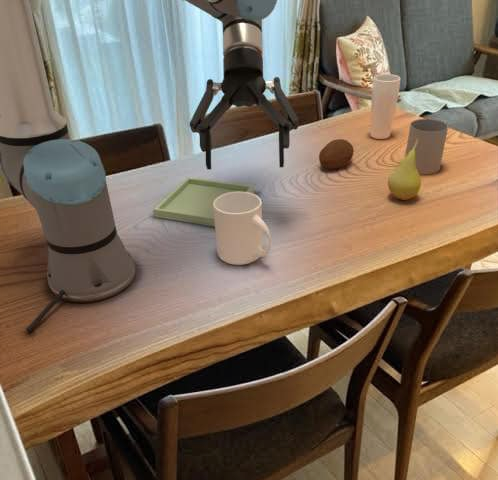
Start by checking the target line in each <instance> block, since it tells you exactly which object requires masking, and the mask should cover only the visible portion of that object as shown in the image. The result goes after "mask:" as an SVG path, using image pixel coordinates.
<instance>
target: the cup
mask: <svg viewBox="0 0 498 480" xmlns="http://www.w3.org/2000/svg"><path fill="white" fill-rule="evenodd" d="M448 130H449V125H448V124H447V123H446V122H445V121H442V120H438V119H432V118H420V119H415V120H413V121H411V122H410V124H409V130H408V135H407V136H408V137H407V142H406V148H405V149H406V150H405V154H404V155H405V156H404V158H405V157H406V156H407V155H408V153H409V152H410V151H411V150H412V149H413V147H414V145H415V142H416V138H418V143H417V145H416V147H415V150H414V151H415V165H416V169H417V171H418V173H419V175H432V174H436V173H438V172H439V171H440V169H441V165H442V161H443V160H442V159H443V155H444V151H445V145H446V139H447V135H448Z"/></svg>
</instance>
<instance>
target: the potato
mask: <svg viewBox="0 0 498 480" xmlns="http://www.w3.org/2000/svg"><path fill="white" fill-rule="evenodd" d="M354 152H355V150H354V146H353V144H352V143H351V142H349V140H347V139H343V138H339V139H332V140H331V141H330V142H328V143H326V144H325V146H324V147H323V148H322V149H321V150H320V152H319V154H318V160H319V164H320V166H321V167H323V168H324V169H328V170H329V169H330V170H333V169H338V168H340V167H344V166H347V165H349V163H350V162H351V161H352V158H353V157H354Z"/></svg>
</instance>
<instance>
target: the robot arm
mask: <svg viewBox="0 0 498 480" xmlns="http://www.w3.org/2000/svg"><path fill="white" fill-rule="evenodd" d="M182 1H185V2H187V3H189V4H190V5H192V6H194V7H196V8H197V9H199V10H201V11H203V12H205V13H206V14H208V15H210V16H211V17H212V18H214V19H216V20H218V21H219V22H221V24H222V26H221V27H222V55H223V58H222V59H223V60H222V61H223V62H222V66H223V69H222V71H223V79H222V81H221V82H217V81H215V82H214V80H213V79H211V78H209V79H207V80H206V85H205V91H204V93H203V95H202V97H201V99H200V102H199V103H198V105H197V107H196V110H195V112H194V113H193V115H192V117H191V119H190V122H189V127H190V131H191V132H192V133H193V134H194V133H197V134H199V148H200V151H201V152H205V167H206V170H212V134H211V130H212V129H213V128H214V126H215V125H216V124H217V122H219V120H220V119H221V118H222V117H223V115H224V114H225V113H226V112H227V111H229V110H230V108H231V107H232V106H235V107H236V108H241V107H248V108H249V107H251V108H252V107H253V106H254V105H256V106H257V107H258V108H259V110H262V111H263V112H264V113H265V114H266V116H267V117H268V119H270V120H271V121H272V122H273V123H274V124H275V125H276V126H277V127H278V159H279V161H278V162H279V164H278V165H279V168H284V167H285V149H286V150H287V149H289V148H290V140H291V138H290V132H291V131H293V130H294V131H295V130H298V128H299V122H300V120H299V119H300V118H299V117H298V116H297V114H296V112H295V110H294V109H293V107H292V105H291V103H290V101H289V100H288V97H287V96H286V94H285V92H284V91H283V89H282V84H281V79H280V77H278V76H275V77H273V80H265V79H264V78H265V77H264V57H263V54H264V53H263V52H264V51H263V49H264V47H263V44H264V43H263V20H264V19H267V18H268V17H269V16H270V15H271V14H272V13H273V11H274V10H275V8H276V5H277V1H278V0H182ZM266 90H269V92H270V93H271V94H273V95H274V98H275V100H276V101H277V104H278V105H279V107H280V109H281V111H282V112H283V115H282V113H280V112H279V110H278V109H277V108H276V107H275V106H274V105H273V104H272V103H271V102H270V101H269V100H268V98H267V96H266V95H265V94H264V93H265V92H266ZM220 91H221V92H222V93H223V95H222V97H221V98H220V100H219V102H218V103H217V104H216V105H215V106H214V107H213V109H212V110H211V111H210V112H209V113H208V115H207V116H206V114H207V112H208V110H209V109H210V106H211V105H212V102H213V100H214V96H215V97H216V96H217V95H218V94H219V92H220ZM205 116H206V117H205ZM284 116H285V117H284ZM67 124H68V123H67V120H66V118H65V117H64V116H62V115H61V114H59V113H58V112H57V111H56V110H55V107H54V104H53V99H52V95H51V90H50V86H49V82H48V78H47V71H46V68H45V64H44V59H43V55H42V51H41V46H40V43H39V38H38V33H37V28H36V24H35V21H34V16H33V11H32V7H31V3H30V0H0V169H1V170H0V171H1V172H2V174H3V175H4V178H5V179H6V180H7V182H8V183H9V184H10V185H11V186H12V187H13V188H14V189H15V190H16V191H18V192H19V194H21V196H22V197H23V198H24V199H25V200H26V201H27V202H28V203H29V204H30V205H31V207H33V208H34V209H35V212H36V213H37V216H38V218H39V221H40V222H39V223H40V224H41V228H42V231H43V234H44V237H45V241H46V243H47V247H48V253H47V254H48V255H47V271H46V277H47V284H48V286H49V289H50V291H51V293H52V294H53V295H54V298H53V299H52V300H51V301H49V303H48V304H47V305H46V306H45V307H44V308H43V310H42V311H40V313H39V314H38V315H37V316H36V317H35V319H34V320H33V321H32V322H31V323H30V324H29V325H28V326H26V328H25V330H26V331H27V332H28V333H30V332H32V331H33V330H34V328H35V327H36V326H37V325H38V324H39V323H40V322H41V321H42V319H44V317H45V316H46V315H47V314H48V313H49V312H50V310H51V309H52V308H53V307H54V306H55V305H56V304H57V303H58V302H59V301H60V300H63V301H65V302H71V303H93V302H98V301H102V300H105V299H108V298H111V297H113V296H116V295H118V294H120V293H121V292H122V291H124V290H125V289H127V288H128V287H129V286H130V285H131V284H132V283H133V281H134V279H135V276H136V273H137V272H136V266H135V261H134V259H133V257H132V255H131V254H130V252H129V251H128V250H127V249H126V247H125V245H124V243H123V241H122V239H121V238H120V235H119V234H118V232H117V231H118V230H117V227H116V222H115V221H116V220H115V217H114V212H113V208H112V202H111V199H110V198H111V197H110V193H109V188H108V184H107V176H106V170H105V168H104V165H103V163H102V159H101V157H100V155H99V153H98V151H97V150H96V149H95V148H94V147H93V146H91V145H89V144H87V143H86V142H84V141H80V140H76V141H73V139H71V138H70V133H69V127H68V125H67Z"/></svg>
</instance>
